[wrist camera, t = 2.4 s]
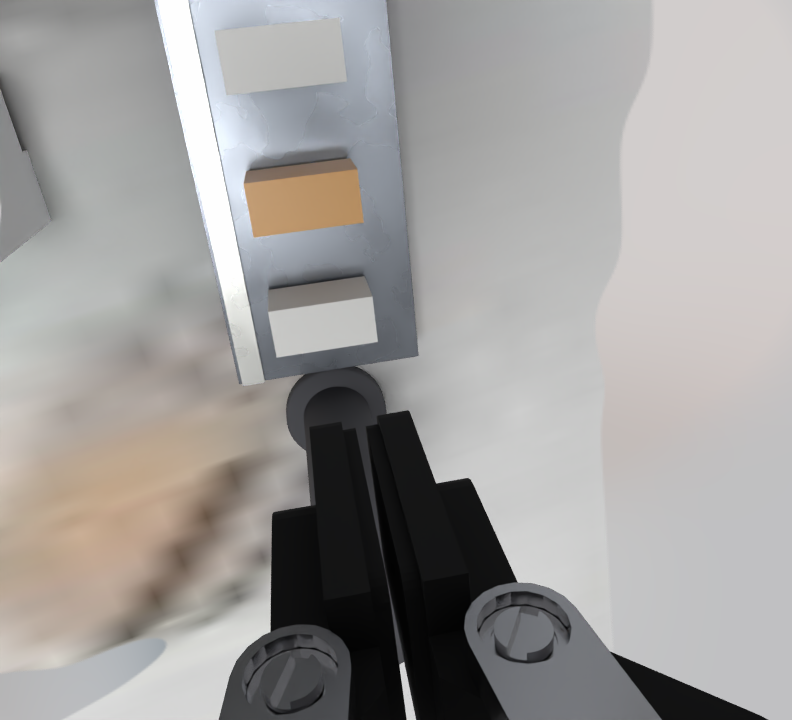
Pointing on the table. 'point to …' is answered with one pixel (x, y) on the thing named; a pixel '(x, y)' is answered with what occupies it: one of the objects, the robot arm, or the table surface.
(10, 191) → the bracket
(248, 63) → the paddle
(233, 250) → the breaker panel
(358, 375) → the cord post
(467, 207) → the table surface
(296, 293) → the white rectangular block
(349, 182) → the block
